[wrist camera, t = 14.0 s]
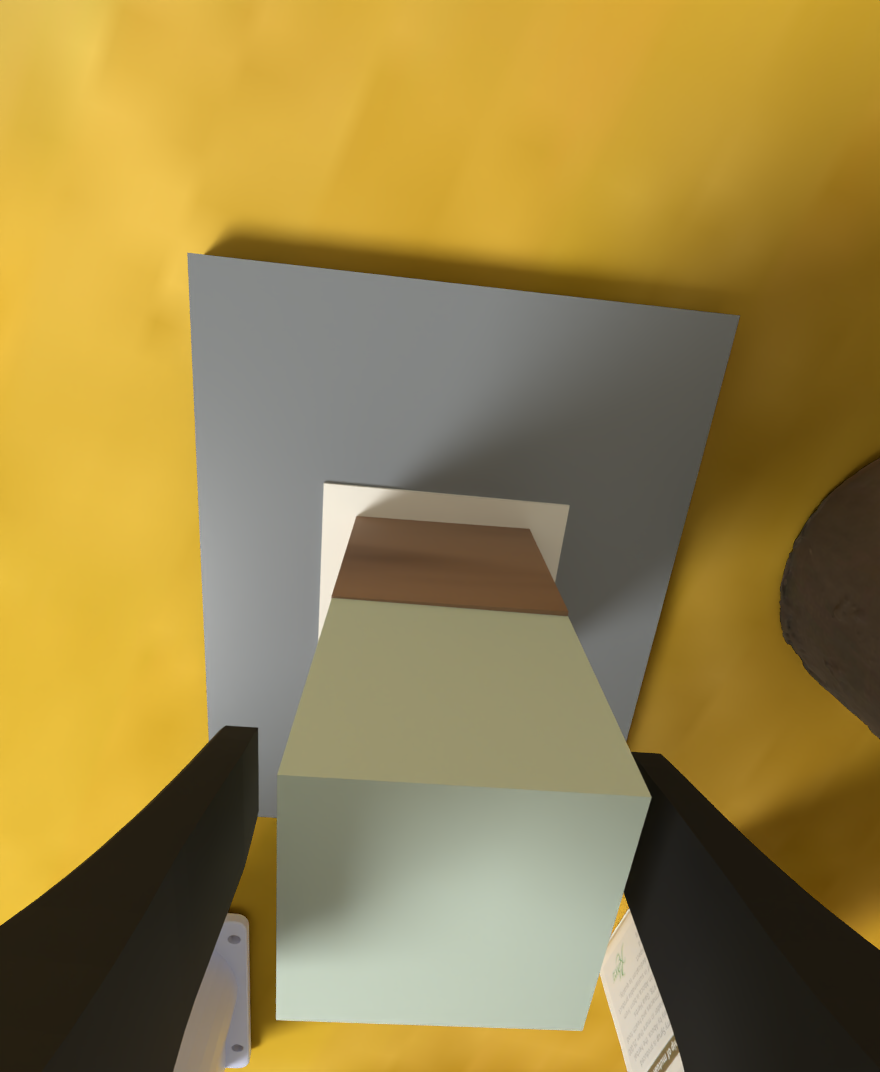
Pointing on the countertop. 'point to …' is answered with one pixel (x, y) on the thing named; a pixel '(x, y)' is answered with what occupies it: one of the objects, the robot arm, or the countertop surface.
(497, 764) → the sage block
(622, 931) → the syrup box
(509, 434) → the base plate
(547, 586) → the walnut block
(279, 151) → the countertop surface
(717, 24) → the countertop surface
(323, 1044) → the countertop surface
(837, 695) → the pillar candle
